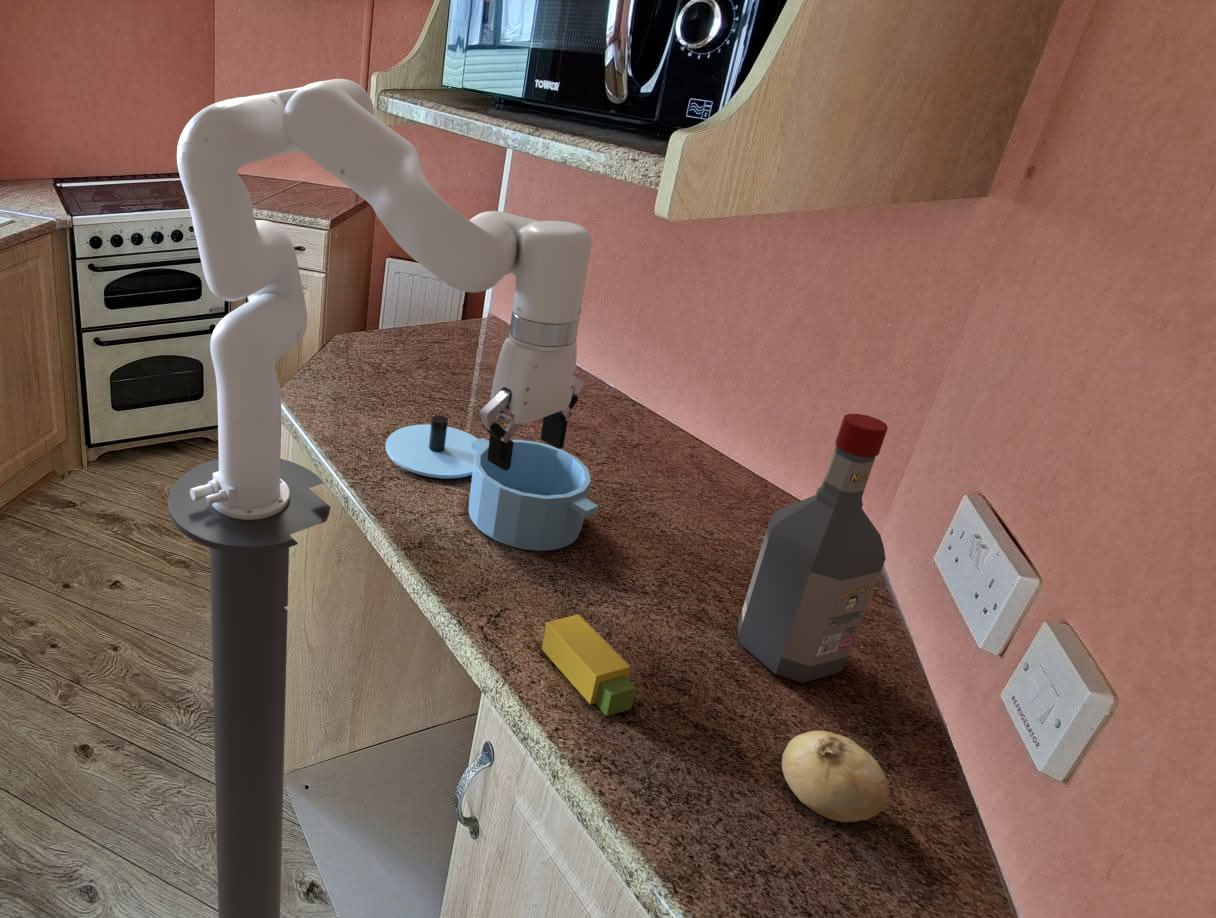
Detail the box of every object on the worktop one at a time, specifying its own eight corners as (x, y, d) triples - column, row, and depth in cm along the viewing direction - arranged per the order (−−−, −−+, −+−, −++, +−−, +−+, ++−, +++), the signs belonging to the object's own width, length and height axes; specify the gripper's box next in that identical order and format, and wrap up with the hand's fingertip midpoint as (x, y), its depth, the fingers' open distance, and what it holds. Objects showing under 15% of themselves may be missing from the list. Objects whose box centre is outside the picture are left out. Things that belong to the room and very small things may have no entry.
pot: (543, 575, 103) (552, 521, 100) (433, 497, 120) (439, 448, 117) (620, 539, 111) (631, 487, 107) (507, 470, 127) (514, 423, 124)
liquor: (853, 672, 88) (946, 437, 77) (789, 690, 86) (874, 450, 74) (783, 617, 97) (857, 397, 85) (723, 632, 94) (790, 407, 82)
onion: (796, 746, 79) (816, 693, 77) (889, 805, 74) (915, 750, 71) (760, 789, 75) (780, 735, 72) (857, 855, 69) (882, 799, 66)
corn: (636, 707, 84) (643, 679, 82) (601, 718, 83) (608, 689, 81) (573, 640, 93) (578, 613, 91) (541, 649, 91) (546, 622, 90)
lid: (431, 492, 121) (435, 454, 118) (365, 445, 134) (367, 410, 132) (509, 464, 129) (515, 428, 126) (439, 421, 142) (443, 388, 140)
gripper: (565, 305, 100) (547, 425, 107) (467, 332, 92) (454, 460, 99) (617, 323, 94) (595, 448, 101) (517, 353, 86) (500, 488, 93)
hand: (525, 454), depth 100 cm, fingers open, 9 cm apart
